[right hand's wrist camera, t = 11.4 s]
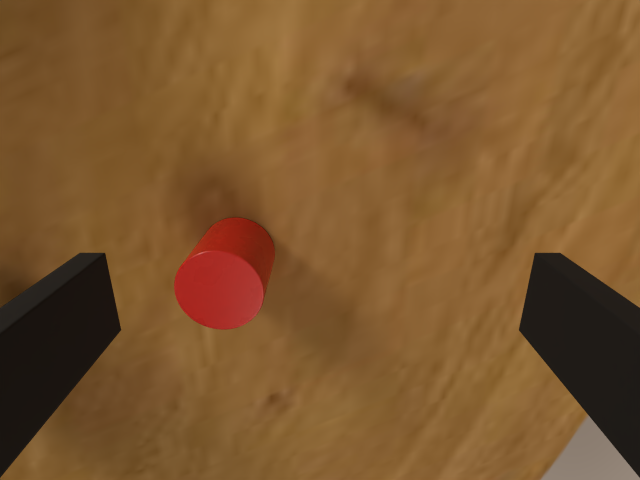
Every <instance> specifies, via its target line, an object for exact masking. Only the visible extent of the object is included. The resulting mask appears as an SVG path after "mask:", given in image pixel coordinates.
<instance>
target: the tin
mask: <svg viewBox="0 0 640 480" xmlns="http://www.w3.org/2000/svg"><path fill="white" fill-rule="evenodd" d="M274 257H275V250H274V245H273V242H272V240H271V238H270V236H269V235H268V233H267V232H266V231H265V230H264V229H263V228H262V227H261V226H260V225H258V224H257V223H255V222H253V221H250V220H248V219H244V218H227V219H223V220H221V221H219V222H217V223H215V224H214V225H212V226H211V227H210V228H209V229H208V231H207V232H206V233H205V235H204V236H203V237H202V239H201V240H200V241H199V243H198V244H197V245H196V247H195V248H194V249H193V251H192V252H191V253H190V255H189V256H188V257H187V259H186V260H185V261H184V263H183V264H182V265H181V267H180V268H179V270H178V272H177V274H176V277H175V282H174V289H175V295H176V299H177V301H178V303H179V305H180V307H181V308H182V309H183V311H184V312H185V313H186V314H187V315H188V316H189V317H190V318H191V319H193V320H194V321H196V322H197V323H199V324H201V325H204V326H206V327H210V328H214V329H232V328H237V327H239V326H242V325H244V324H246V323H248V322H249V321H251V320H252V319H253V318H254V317H255V316H256V315H257V314H258V312H259V310H260V309H261V306H262V304H263V300H264V297H265V293H266V289H267V285H268V281H269V277H270V274H271V270H272V266H273V262H274Z"/></svg>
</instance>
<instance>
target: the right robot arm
mask: <svg viewBox="0 0 640 480" xmlns="http://www.w3.org/2000/svg"><path fill="white" fill-rule="evenodd" d="M120 331H121V327H120V323H119V318H118V313H117V308H116V303H115V299H114V294H113V289H112V284H111V279H110V275H109V270H108V265H107V260H106V255H105V253H79V254H78V255H76V256H75V257H73V258H72V259H70V260H69V261H68V262H66V263H65V264H63V265H62V266H60V267H59V268H57V269H56V270H54V271H53V272H52V273H50V274H49V275H47V276H46V277H44V278H43V279H41V280H40V281H39V282H37V283H36V284H34V285H33V286H31V287H30V288H28V289H27V290H26V291H24V292H23V293H21V294H20V295H18V296H17V297H15V298H14V299H13V300H11V301H10V302H8V303H7V304H5V305H4V306H2V307H1V308H0V477H1V476H2V475H3V474H4V472H5V471H6V470H7V469H8V467H9V466H10V465H11V464H12V463H13V461H14V460H15V459H16V458H17V456H18V455H19V454H20V453H21V452H22V450H23V449H24V448H25V447H26V446H27V444H28V443H29V442H30V441H31V439H32V438H33V437H34V436H35V435H36V433H37V432H38V431H39V430H40V428H41V427H42V426H43V425H44V424H45V422H46V421H47V420H48V419H49V417H50V416H51V415H52V414H53V413H54V411H55V410H56V409H57V408H58V406H59V405H60V404H61V403H62V402H63V400H64V399H65V398H66V397H67V395H68V394H69V393H70V392H71V391H72V389H73V388H74V387H75V386H76V384H77V383H78V382H79V381H80V380H81V378H82V377H83V376H84V375H85V373H86V372H87V371H88V370H89V369H90V367H91V366H92V365H93V364H94V362H95V361H96V360H97V359H98V358H99V356H100V355H101V354H102V353H103V351H104V350H105V349H106V348H107V347H108V345H109V344H110V343H111V342H112V340H113V339H114V338H115V337H116V336H117V334H118V333H119V332H120ZM519 331H520V332H521V333H522V334H523V336H524V337H525V338H526V339H527V340H528V342H529V343H530V344H531V345H532V347H533V348H534V349H535V350H536V351H537V353H538V354H539V355H540V356H541V358H542V359H543V360H544V361H545V362H546V364H547V365H548V366H549V367H550V369H551V370H552V371H553V372H554V373H555V375H556V376H557V377H558V378H559V380H560V381H561V382H562V383H563V384H564V386H565V387H566V388H567V389H568V391H569V392H570V393H571V394H572V395H573V397H574V398H575V399H576V400H577V402H578V403H579V404H580V405H581V406H582V408H583V409H584V410H585V411H586V413H587V414H588V415H589V416H590V417H591V419H592V420H593V421H594V422H595V423H596V425H597V426H598V427H599V428H600V430H601V431H602V432H603V433H604V435H605V436H606V437H607V438H608V439H609V441H610V442H611V443H612V444H613V445H614V447H615V448H616V449H617V450H618V452H619V453H620V454H621V455H622V456H623V458H624V459H625V460H626V461H627V463H628V464H629V465H630V466H631V467H632V469H633V470H634V471H635V472H636V474H637V475H638V476H639V477H640V308H639V307H638V306H636V305H635V304H633V303H632V302H630V301H629V300H627V299H626V298H625V297H623V296H622V295H620V294H619V293H617V292H616V291H614V290H613V289H612V288H610V287H609V286H607V285H606V284H604V283H603V282H601V281H600V280H599V279H597V278H596V277H594V276H593V275H591V274H590V273H588V272H587V271H586V270H584V269H583V268H581V267H580V266H578V265H577V264H575V263H574V262H572V261H571V260H570V259H568V258H567V257H565V256H564V255H562V254H561V253H535V255H534V260H533V265H532V270H531V274H530V279H529V284H528V289H527V294H526V299H525V303H524V308H523V313H522V318H521V323H520V327H519Z"/></svg>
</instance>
